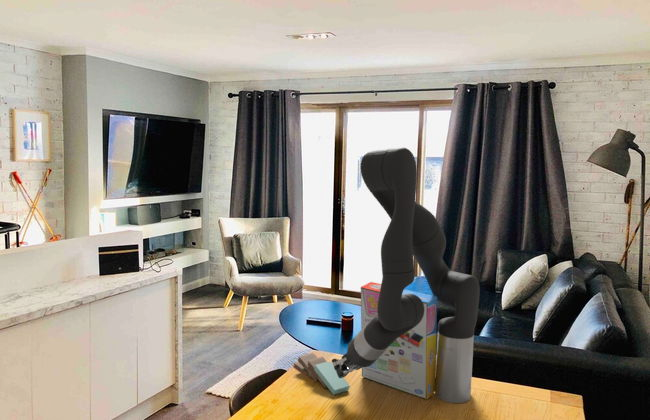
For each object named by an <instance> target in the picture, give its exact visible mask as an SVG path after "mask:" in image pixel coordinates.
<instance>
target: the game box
mask: <svg viewBox="0 0 650 420" xmlns="http://www.w3.org/2000/svg"><path fill="white" fill-rule="evenodd" d="M380 288H381V283H378V282H373V281H369V282H368V283H366V284H364V285H362V286H360V314H361V316H360V320H361V327H360V328H361V330H362V329H363V328H364V327H366V326H367V325H368V324H369V322H370V321H371V320H372V319H373V318H374V317H376V316H377V315H378V313H377V306H378V299H379V294H380ZM404 294H414V295H416V296H418V297H419V298H420V299H421V300H422V302H423V304H424V316H423V318H422V320H421V321H420V323H419V324H418V325H417V326H415V327H414V328H412V329H411V330H409V331H408V332H406V333H405V334H403V335H401V336H400V337H398V338H397V339H396V340H395V341H394V342H393V343H392V344H391V345H390V346H389V347H388V348H387V349H386V351H385V352H384V353H383V354H382V355H381V356H380V357H379V358H378V359H377V360H376V361H375V362H374V363H373V364H372V365H370V366H368V367H362V368H361V377H362V378H366V379H368V380H371V381H374V382H376V383H379V384H382V385H385V386H387V387H390V388H394V389H396V390H399V391H402V392H404V393H406V394H411V395H412V396H413V395H414V396H416V397H418V398H423V399H424V400H428V399H429V398H431V396H432V395H433V394H435V380H436V360H437V332H438V324H437V321H438V320H437V319H438V317H437V316H438V301H437V296H433V294H432V295H431V294H427V293H422V292H418V291H413V290H410V289H406V288H405V289H404V290H403V293H402V295H404Z"/></svg>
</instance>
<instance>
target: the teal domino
mask: <svg viewBox="0 0 650 420" xmlns="http://www.w3.org/2000/svg"><path fill="white" fill-rule="evenodd" d="M314 370H315V371H316V373H317V374H318V375H319V377H320V378H321V379H322V381H323V382H324V383H325V384H326V386H327V387H328V388H327V389H328V390H329V391H330V393H331V394H332V395H333V396H334V395H338V394H341V393H344V392H348V391H349V389H350V387H351V385H350V383H348V381H347V380H346V379H345V377H343V378H339V377H338V375H337V372H336V370H335V369H334V366H333V363H332V361H330V360H329V361H327V362H325V363H321V364H317V365H315V368H314Z"/></svg>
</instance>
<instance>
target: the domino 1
mask: <svg viewBox="0 0 650 420" xmlns="http://www.w3.org/2000/svg"><path fill="white" fill-rule="evenodd" d="M293 366H294V368H296V369H297V370H299V371H300V372H302V374H304V375H306V376H307V377H308V378H310V379H313V378H312V377H311V376H310V374H309V373H308V372H307V371H306V370H305V369H304V367H303V366H302V365H301V364H300V363H299V362H298V361H296V362H293Z"/></svg>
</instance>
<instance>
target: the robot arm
mask: <svg viewBox="0 0 650 420" xmlns="http://www.w3.org/2000/svg"><path fill="white" fill-rule="evenodd" d="M417 170H418V169H417V162H416V158H415V156H414V154H413V152H412V151H411V150H410V149H408V148H407V147H404V146H403V147H401V146H400V147H393V148H392V147H391V148H384V149H376V150H372V151H368V152H367V153H366V154H364V155H363V156H362V158H361V160H360V175H361V177H362V180H363V182H364V184H365V186H366V188H367V189H368V190H369V192H370V193H371V194H372V196H373V197H374V198H375V200H376V201H377V202H378V203H379V204H380V206H381V208H382V209H383V210H384V211H385V212H386V214H387V215H388V217H389V218H390V222H389V223H388V224H389V225H388V227H387V228H386V231H385V233H384V236H383V238H382V242H381V246H380V258H381V260H380V261H381V262H380V263H381V272H382V279H381V283H380V284H381V288H380V294H379V299H378V306H377V313H378V315H377V316H376V317H374V318H373V319H372V320H371V321H370V322H369V324H368V325H367V326H366V327H364V328H363V329H362V328H361V329H360V331H358V333H357V334H356V335H355V336H354V337H353V339H351V340H350V341H349V343H348V345H347V349H346V352H345V354H343V355H342V356H341V358H340V359H339V358H332V359H331V361H330V362H331V363H332V364H333V366H334V369H335V370H336V372H337V375H338V377H339V378H346V376H348V374H350V373H353V372H354V371H357V370H358V371H359V370H360V369H362V367H368V366H370V365H372V364H373V363H374V362H375V361H376V360H377V359H378V358H379V357H380V356H381V355H382V354H383V353H384V352H385V351H386V349H387V348H388V347H389V346H390V345H391V344H392V343H393V342H394V341H395V340H396V339H397V338H398V337H400V336H401V335H403V334H405V333H406V332H408V331H409V330H411V329H412V328H414V327H415V326H417V325H418V324H419V323H420V321H421V320H422V318H423V316H424V304H423V302H422V300H421V299H420V298H419V297H418V296H416V295H414V294H404V295H402V293H403V290H404V289H405V290H406V288H407V287H408V286H410V285H411V284H413V283H414V280H415V263H414V262H415V261H416V262H417V265H418V266H419V268H420V269H421V271H422V274H423V275H424V277H425V280H426V282H427V284H428V287H429V289H430V292H431V293H432V296H437V303H440V304H441V305H442V306H443V305H444V306H446V307H450V308H453V309H455V312H454V316H448V317H444V318H441V319H439V321H438V324H437V336H436V380H435V392H434V395H435V396H436V397H437V398H438V399H440V400H442V401H444V402H448V403H453V404H462V403H466V402H468V401H470V400H471V397H472V396H471V395H472V393H471V392H472V391H471V390H472V376H473V374H472V373H473V360H474V359H473V357H474V340H475V339H474V337H475V328H476V326H477V321H478V315H479V313H478V312H479V303H480V294H481V293H480V292H481V291H480V289H481V288H480V282H479V280H478V278H477V277H476V276H474V275H471V274H467V273H464V272H463V273H462V272H459V271H454V270H451V269H450V268H449V267H448V265H447V264H446V262H445V261H444V259H443V257H444V254H445V250H446V246H447V238H446V234H445V232H444V230H443V228H442V227H441V225H440V222H439V220H437V218H436V217H435V215H434V213H432V212H431V211H429V210H428V209H427V208H426V207H425V206H423V205H421V204H420V203H419V202H417V201H416V195H417V192H416V191H417V179H418V177H417V174H418V173H417ZM414 259H415V261H414Z"/></svg>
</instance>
